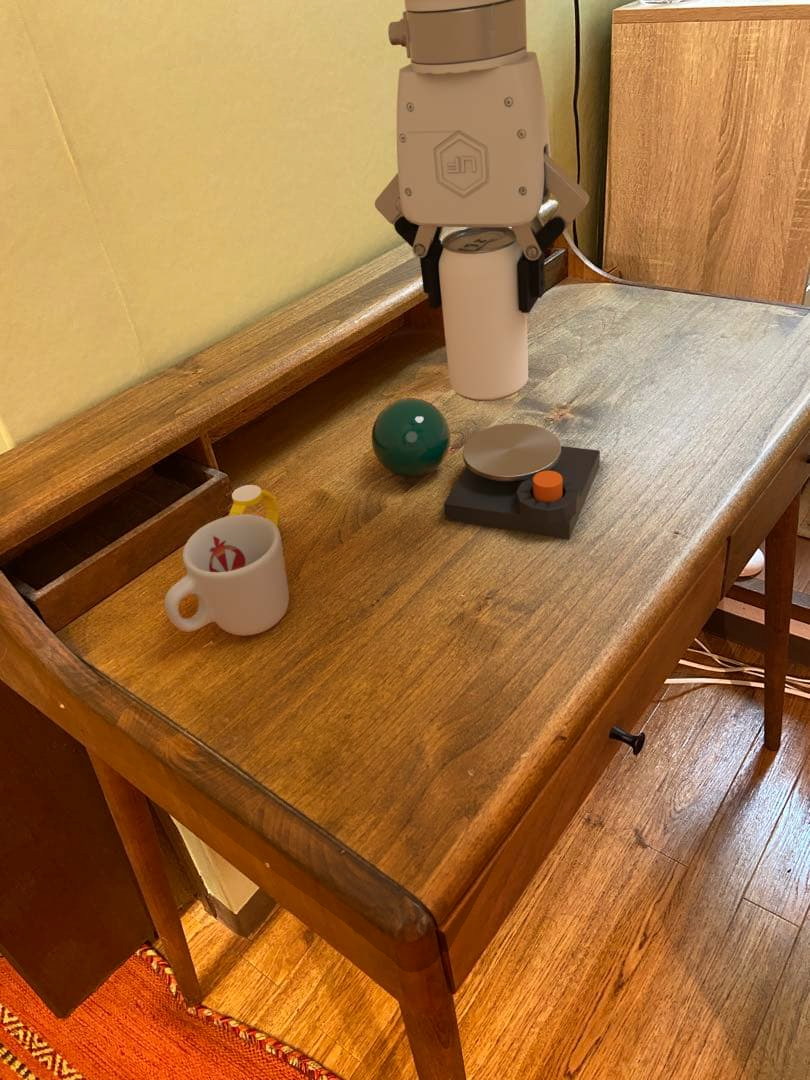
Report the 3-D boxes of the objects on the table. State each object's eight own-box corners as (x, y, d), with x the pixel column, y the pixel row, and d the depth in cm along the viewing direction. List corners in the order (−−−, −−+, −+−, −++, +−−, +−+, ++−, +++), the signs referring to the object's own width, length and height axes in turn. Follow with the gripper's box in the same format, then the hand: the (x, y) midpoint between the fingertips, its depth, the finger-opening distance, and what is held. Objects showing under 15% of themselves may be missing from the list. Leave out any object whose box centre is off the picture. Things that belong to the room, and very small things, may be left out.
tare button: (565, 488, 75) (565, 472, 74) (558, 504, 73) (558, 488, 72) (537, 484, 76) (537, 468, 75) (529, 500, 74) (529, 484, 73)
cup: (209, 682, 65) (180, 609, 60) (163, 634, 70) (132, 563, 65) (317, 611, 70) (298, 538, 65) (266, 571, 75) (245, 501, 70)
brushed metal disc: (571, 433, 81) (571, 428, 81) (546, 487, 74) (546, 482, 74) (481, 423, 84) (481, 418, 84) (449, 474, 78) (448, 469, 78)
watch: (253, 566, 76) (237, 515, 73) (229, 559, 77) (213, 509, 74) (289, 528, 80) (276, 478, 76) (266, 523, 81) (252, 473, 78)
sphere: (363, 469, 87) (351, 403, 82) (425, 441, 90) (417, 375, 85) (403, 503, 81) (393, 434, 76) (469, 472, 84) (463, 403, 79)
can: (543, 375, 68) (541, 228, 60) (499, 410, 64) (490, 258, 57) (479, 359, 71) (469, 219, 64) (434, 392, 68) (418, 247, 60)
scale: (602, 466, 82) (603, 436, 80) (570, 544, 73) (570, 513, 71) (485, 452, 87) (483, 423, 84) (442, 524, 78) (438, 494, 76)
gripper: (321, 57, 53) (363, 318, 64) (590, 36, 47) (585, 330, 58) (368, 36, 58) (399, 281, 69) (615, 15, 52) (606, 288, 63)
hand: (483, 301), depth 63 cm, fingers closed on can, 6 cm apart
